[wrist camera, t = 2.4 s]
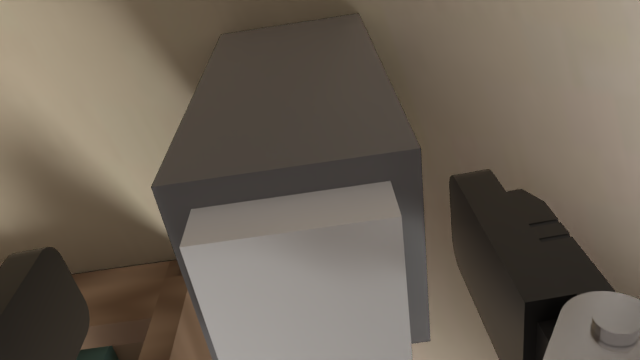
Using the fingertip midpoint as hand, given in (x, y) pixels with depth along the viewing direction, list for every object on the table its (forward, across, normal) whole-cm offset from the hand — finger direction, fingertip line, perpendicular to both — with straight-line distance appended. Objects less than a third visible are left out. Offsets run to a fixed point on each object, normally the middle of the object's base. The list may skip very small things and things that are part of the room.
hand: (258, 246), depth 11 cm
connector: (+7, -1, 0) cm, 8 cm away
